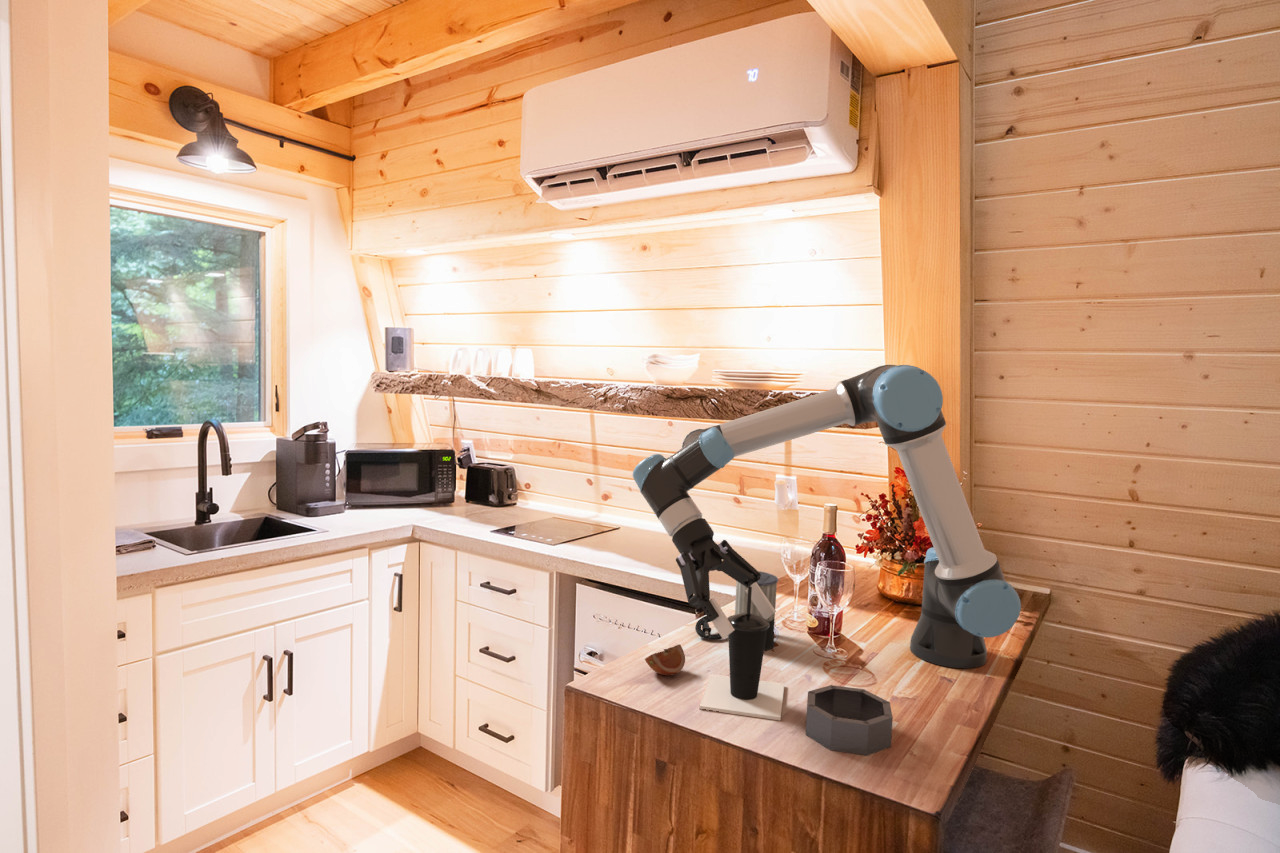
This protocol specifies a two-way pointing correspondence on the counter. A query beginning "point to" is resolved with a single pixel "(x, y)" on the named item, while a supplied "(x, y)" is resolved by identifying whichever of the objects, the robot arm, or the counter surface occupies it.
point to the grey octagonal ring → (849, 720)
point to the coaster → (761, 706)
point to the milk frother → (768, 587)
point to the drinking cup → (746, 652)
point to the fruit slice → (667, 661)
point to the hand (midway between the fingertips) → (750, 625)
